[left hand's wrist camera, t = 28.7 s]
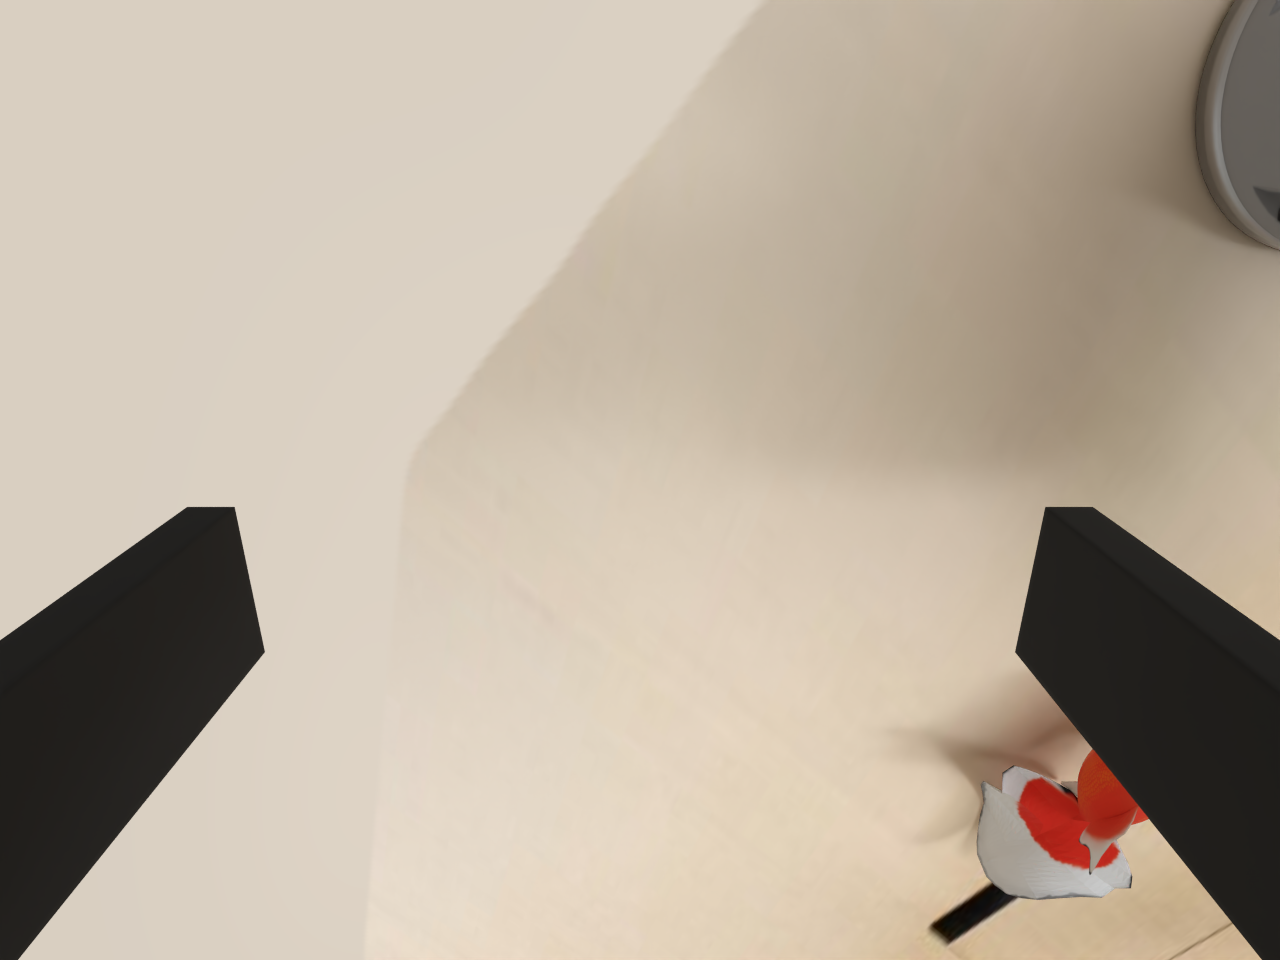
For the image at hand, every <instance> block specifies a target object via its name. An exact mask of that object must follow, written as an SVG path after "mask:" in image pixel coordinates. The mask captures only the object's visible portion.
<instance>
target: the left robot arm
mask: <svg viewBox="0 0 1280 960" xmlns="http://www.w3.org/2000/svg"><path fill="white" fill-rule="evenodd" d="M1196 144H1197V152H1198V158H1199V163H1200V167H1201V170H1202V174H1203V177H1204V180H1205V182H1206V185H1207V187H1208V189H1209V191H1210V194H1211V195H1212V197H1213V199H1214V200H1215V202H1216V204H1217V205H1218V207H1219V208H1220V209H1221V211H1222V212H1223V213H1224V215H1225V216H1226V217H1227V218H1228V219H1229V220H1230V221H1231V222H1232V223H1233V224H1234V225H1235V226H1236V227H1237V228H1239V229H1240V230H1241V231H1242V232H1244V233H1245V234H1246V235H1248V236H1250V237H1251V238H1253V239H1255V240H1256V241H1258V242H1260V243H1263V244H1265V245H1267V246H1270V247H1272V248H1276V249H1279V250H1280V0H1235V1H1234V3H1233V4H1232V6H1231V8H1230V10H1229V11H1228V13H1227V15H1226V17H1225V19H1224V20H1223V22H1222V24H1221V26H1220V29H1219V31H1218V33H1217V35H1216V37H1215V39H1214V42H1213V44H1212V47H1211V50H1210V52H1209V55H1208V58H1207V61H1206V64H1205V68H1204V71H1203V75H1202V78H1201V83H1200V88H1199V93H1198V99H1197V109H1196ZM264 652H265V651H264V646H263V641H262V636H261V632H260V627H259V622H258V617H257V612H256V608H255V603H254V598H253V593H252V589H251V584H250V579H249V574H248V569H247V565H246V560H245V555H244V550H243V545H242V540H241V536H240V531H239V526H238V521H237V516H236V512H235V507H187V508H185V509H184V510H182V511H181V512H180V513H178V514H177V515H176V516H174V517H173V518H171V519H170V520H168V521H167V522H166V523H164V524H163V525H161V526H160V527H159V528H157V529H156V530H154V531H153V532H152V533H150V534H149V535H147V536H146V537H145V538H143V539H142V540H140V541H139V542H138V543H136V544H135V545H133V546H132V547H131V548H129V549H128V550H126V551H125V552H124V553H122V554H121V555H119V556H118V557H116V558H115V559H114V560H112V561H111V562H109V563H108V564H107V565H105V566H104V567H103V568H101V569H100V570H98V571H97V572H95V573H94V574H93V575H91V576H90V577H88V578H87V579H86V580H84V581H83V582H81V583H80V584H79V585H77V586H76V587H74V588H73V589H72V590H70V591H69V592H67V593H66V594H65V595H63V596H62V597H60V598H59V599H58V600H56V601H55V602H53V603H52V604H51V605H49V606H48V607H46V608H45V609H44V610H42V611H41V612H39V613H38V614H37V615H35V616H34V617H32V618H31V619H30V620H28V621H27V622H25V623H24V624H22V625H21V626H20V627H18V628H17V629H15V630H14V631H13V632H11V633H10V634H9V635H7V636H6V637H4V638H3V639H1V640H0V960H18V959H19V958H20V957H21V955H22V954H23V953H24V952H25V950H26V949H27V948H28V947H29V945H30V944H31V943H32V942H33V940H34V939H35V938H36V937H37V935H38V934H39V933H40V932H41V930H42V929H43V928H44V927H45V925H46V924H47V923H48V922H49V920H50V919H51V918H52V917H53V915H54V914H55V913H56V912H57V910H58V909H59V908H60V907H61V905H62V904H63V903H64V902H65V900H66V899H67V898H68V897H69V895H70V894H71V893H72V892H73V890H74V889H75V888H76V887H77V885H78V884H79V883H80V882H81V880H82V879H83V878H84V877H85V876H86V874H87V873H88V872H89V871H90V869H91V868H92V867H93V866H94V864H95V863H96V862H97V861H98V859H99V858H100V857H101V856H102V854H103V853H104V852H105V851H106V849H107V848H108V847H109V846H110V844H111V843H112V842H113V841H114V839H115V838H116V837H117V836H118V834H119V833H120V832H121V831H122V829H123V828H124V827H125V826H126V824H127V823H128V822H129V821H130V819H131V818H132V817H133V816H134V814H135V813H136V812H137V811H138V809H139V808H140V807H141V806H142V804H143V803H144V802H145V801H146V799H147V798H148V797H149V796H150V795H151V793H152V792H153V791H154V790H155V788H156V787H157V786H158V785H159V783H160V782H161V781H162V779H163V778H164V777H165V776H166V775H167V773H168V772H169V771H170V770H171V768H172V767H173V766H174V765H175V763H176V762H177V761H178V760H179V758H180V757H181V756H182V755H183V753H184V752H185V751H186V750H187V748H188V747H189V746H190V745H191V743H192V742H193V741H194V740H195V738H196V737H197V736H198V735H199V733H200V732H201V731H202V730H203V728H204V727H205V726H206V725H207V723H208V722H209V721H210V720H211V718H212V717H213V716H214V715H215V713H216V712H217V711H218V710H219V709H220V707H221V706H222V705H223V703H224V702H225V701H226V700H227V699H228V697H229V696H230V695H231V694H232V692H233V691H234V690H235V689H236V687H237V686H238V685H239V684H240V682H241V681H242V680H243V679H244V677H245V676H246V675H247V674H248V672H249V671H250V670H251V669H252V667H253V666H254V665H255V664H256V662H257V661H258V660H259V659H260V657H261V656H262V655H263V654H264ZM1015 652H1016V654H1017V655H1018V656H1019V657H1020V659H1021V660H1022V661H1023V662H1024V664H1025V665H1026V666H1027V667H1028V669H1029V670H1030V671H1031V672H1032V674H1033V675H1034V676H1035V677H1036V679H1037V680H1038V681H1039V682H1040V684H1041V685H1042V686H1043V687H1044V689H1045V690H1046V691H1047V692H1048V694H1049V695H1050V696H1051V697H1052V699H1053V700H1054V701H1055V702H1056V704H1057V705H1058V706H1059V707H1060V709H1061V710H1062V711H1063V712H1064V713H1065V715H1066V716H1067V717H1068V718H1069V720H1070V721H1071V722H1072V723H1073V725H1074V726H1075V727H1076V728H1077V730H1078V731H1079V732H1080V733H1081V735H1082V736H1083V737H1084V738H1085V740H1086V741H1087V742H1088V743H1089V745H1090V746H1091V747H1092V748H1093V750H1094V751H1095V752H1096V753H1097V755H1098V756H1099V757H1100V758H1101V760H1102V761H1103V762H1104V763H1105V765H1106V766H1107V767H1108V768H1109V770H1110V771H1111V772H1112V773H1113V775H1114V776H1115V777H1116V778H1117V780H1118V781H1119V782H1120V783H1121V785H1122V786H1123V787H1124V788H1125V790H1126V791H1127V792H1128V793H1129V795H1130V796H1131V797H1132V798H1133V799H1134V801H1135V802H1136V803H1137V804H1138V806H1139V807H1140V808H1141V809H1142V811H1143V812H1144V813H1145V814H1146V816H1147V817H1148V818H1149V819H1150V821H1151V822H1152V823H1153V824H1154V826H1155V827H1156V828H1157V829H1158V831H1159V832H1160V833H1161V834H1162V836H1163V837H1164V838H1165V839H1166V841H1167V842H1168V843H1169V844H1170V846H1171V847H1172V848H1173V849H1174V851H1175V852H1176V853H1177V854H1178V856H1179V857H1180V858H1181V859H1182V861H1183V862H1184V863H1185V864H1186V866H1187V867H1188V868H1189V869H1190V871H1191V872H1192V873H1193V874H1194V876H1195V877H1196V878H1197V879H1198V881H1199V882H1200V883H1201V884H1202V886H1203V887H1204V888H1205V889H1206V890H1207V892H1208V893H1209V894H1210V895H1211V897H1212V898H1213V899H1214V900H1215V902H1216V903H1217V904H1218V905H1219V907H1220V908H1221V909H1222V910H1223V912H1224V913H1225V914H1226V915H1227V917H1228V918H1229V919H1230V920H1231V922H1232V923H1233V924H1234V925H1235V927H1236V928H1237V929H1238V930H1239V932H1240V933H1241V934H1242V935H1243V937H1244V938H1245V939H1246V940H1247V942H1248V943H1249V944H1250V945H1251V947H1252V948H1253V949H1254V950H1255V952H1256V953H1257V954H1258V955H1259V957H1260V958H1261V959H1262V960H1280V640H1279V639H1277V638H1276V637H1274V636H1273V635H1272V634H1270V633H1269V632H1267V631H1266V630H1265V629H1263V628H1262V627H1260V626H1259V625H1258V624H1256V623H1255V622H1253V621H1252V620H1250V619H1249V618H1248V617H1246V616H1245V615H1243V614H1242V613H1241V612H1239V611H1238V610H1236V609H1235V608H1234V607H1232V606H1231V605H1229V604H1228V603H1227V602H1225V601H1224V600H1222V599H1221V598H1220V597H1218V596H1217V595H1215V594H1214V593H1213V592H1211V591H1210V590H1208V589H1207V588H1206V587H1204V586H1203V585H1201V584H1200V583H1199V582H1197V581H1196V580H1194V579H1193V578H1192V577H1190V576H1189V575H1187V574H1186V573H1185V572H1183V571H1182V570H1180V569H1179V568H1178V567H1176V566H1175V565H1173V564H1172V563H1171V562H1169V561H1168V560H1166V559H1165V558H1164V557H1162V556H1161V555H1159V554H1158V553H1156V552H1155V551H1154V550H1152V549H1151V548H1149V547H1148V546H1147V545H1145V544H1144V543H1142V542H1141V541H1140V540H1138V539H1137V538H1135V537H1134V536H1133V535H1131V534H1130V533H1128V532H1127V531H1126V530H1124V529H1123V528H1121V527H1120V526H1119V525H1117V524H1116V523H1114V522H1113V521H1112V520H1110V519H1109V518H1107V517H1106V516H1105V515H1103V514H1102V513H1100V512H1099V511H1098V510H1096V509H1095V508H1093V507H1045V512H1044V516H1043V521H1042V526H1041V531H1040V536H1039V540H1038V545H1037V550H1036V555H1035V560H1034V564H1033V569H1032V574H1031V579H1030V584H1029V588H1028V593H1027V598H1026V603H1025V608H1024V612H1023V617H1022V622H1021V627H1020V632H1019V636H1018V641H1017V646H1016V651H1015Z"/></svg>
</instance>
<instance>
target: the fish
mask: <svg viewBox="0 0 1280 960" xmlns="http://www.w3.org/2000/svg"><path fill="white" fill-rule="evenodd" d="M1061 784H1062V785H1063V786H1065V787H1066V788H1065V787H1063V786H1062V785H1060V784H1058V783H1056V782H1054V781H1052V780H1050V779H1048V778H1046V777H1044V776H1043V775H1040V774H1038V773H1035V772H1033V771H1030V770H1027V769H1024V768H1021V767H1017V766H1014V765H1013V766H1012V767H1010V768H1009V769H1008V770H1006V771H1005V772H1003V779H1002V790H1000V789H998V788H996V787H994V786H992V785H990V784H989V783H987V782H984V781H983V782H982V784H981V788H982V792H983V800H984V804H983V808H982V811H981V814H980V820H979V826H978V835H977V855H978V858H979V860H980V863H981V865H982V867H983V870H984V872H985V875H986V877H987V878H988V879H989V880H990V881H991V882H992V883H993V884H994V885H996V886H997V887H998V888H1000V889H1001V890H1002V891H1004V892H1005V893H1006V894H1009V895H1013V896H1016V897H1020V898H1026V899H1036V900H1041V899H1055V898H1070V897H1100V898H1102V897H1103V896H1105V895H1106V894H1108V893H1109V892H1111V891H1112V890H1113V889H1115V888H1131V883H1132V874H1131V871H1130V868H1129V865H1128V862H1127V860H1126V858H1125V856H1124V854H1123V852H1122V850H1121V848H1120V846H1119V844H1118V842H1117V839H1118V838H1120V837H1121V836H1122V835H1124V834H1125V833H1126V832H1127V830H1128V828H1129V827H1130V825H1133V824H1136V823H1140V822H1143V821H1145V820H1147V819H1149V818H1148V817H1147V816H1146V814H1145V813H1144V812H1143V811H1142V809H1141V808H1140V807H1139V806H1138V804H1137V803H1136V802H1135V801H1134V799H1133V798H1132V797H1131V796H1130V795H1129V793H1128V792H1127V791H1126V790H1125V788H1124V787H1123V786H1122V785H1121V783H1120V782H1119V781H1118V780H1117V778H1116V777H1115V776H1114V775H1113V773H1112V772H1111V771H1110V770H1109V768H1108V767H1107V766H1106V765H1105V763H1104V762H1103V761H1102V760H1101V758H1100V757H1099V756H1098V755H1097V753H1096V752H1095V751H1094V750H1092V751H1091V752H1090V753H1089V754H1088V756H1087V757H1086V759H1085V760H1084V762H1083V764H1082V767H1081V769H1080V772H1079V776H1078V782H1070V781H1062V782H1061ZM1067 788H1068V789H1067ZM1075 795H1076V796H1077V797H1078V798H1077V797H1076V796H1075Z"/></svg>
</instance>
